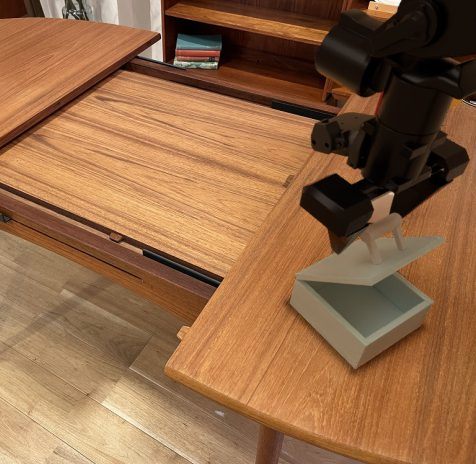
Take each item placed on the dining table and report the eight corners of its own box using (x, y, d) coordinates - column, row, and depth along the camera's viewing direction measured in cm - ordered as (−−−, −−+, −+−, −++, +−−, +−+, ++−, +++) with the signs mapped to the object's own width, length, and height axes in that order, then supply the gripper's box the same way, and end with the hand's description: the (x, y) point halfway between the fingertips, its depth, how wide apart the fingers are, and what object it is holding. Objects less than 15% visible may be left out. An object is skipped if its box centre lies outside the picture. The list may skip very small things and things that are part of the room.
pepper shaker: (389, 227, 77) (409, 178, 70) (362, 223, 78) (379, 173, 71) (388, 210, 80) (408, 161, 73) (362, 206, 80) (378, 157, 74)
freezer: (420, 325, 64) (434, 301, 61) (355, 369, 60) (366, 346, 56) (352, 267, 71) (361, 243, 68) (289, 303, 67) (295, 279, 64)
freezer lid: (445, 242, 56) (431, 200, 55) (371, 286, 52) (355, 241, 51) (362, 243, 68) (350, 208, 67) (296, 279, 63) (283, 242, 63)
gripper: (406, 59, 55) (368, 171, 66) (274, 109, 49) (256, 225, 60) (501, 104, 49) (441, 221, 60) (362, 169, 42) (324, 288, 53)
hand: (365, 236), depth 58 cm, fingers open, 9 cm apart
